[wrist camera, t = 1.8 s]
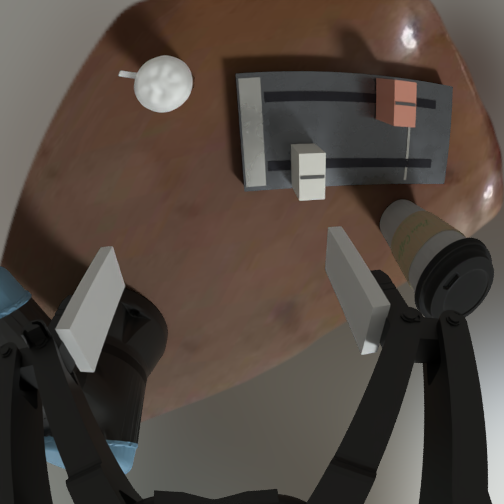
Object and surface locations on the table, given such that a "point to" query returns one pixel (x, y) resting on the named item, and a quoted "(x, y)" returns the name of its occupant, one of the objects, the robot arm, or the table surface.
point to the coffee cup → (437, 260)
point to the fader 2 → (396, 102)
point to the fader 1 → (308, 171)
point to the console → (338, 129)
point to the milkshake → (162, 83)
